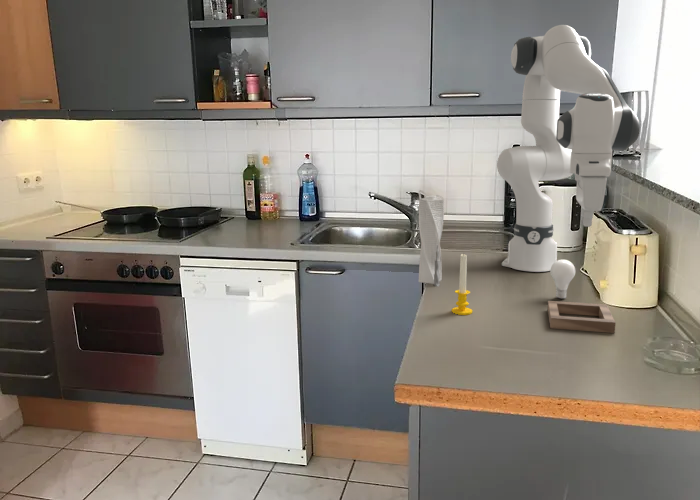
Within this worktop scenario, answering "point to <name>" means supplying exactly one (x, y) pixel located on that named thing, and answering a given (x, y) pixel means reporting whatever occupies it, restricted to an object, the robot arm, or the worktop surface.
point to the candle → (462, 290)
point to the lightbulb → (562, 276)
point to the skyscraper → (430, 238)
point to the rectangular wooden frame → (578, 323)
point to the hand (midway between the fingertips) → (586, 225)
